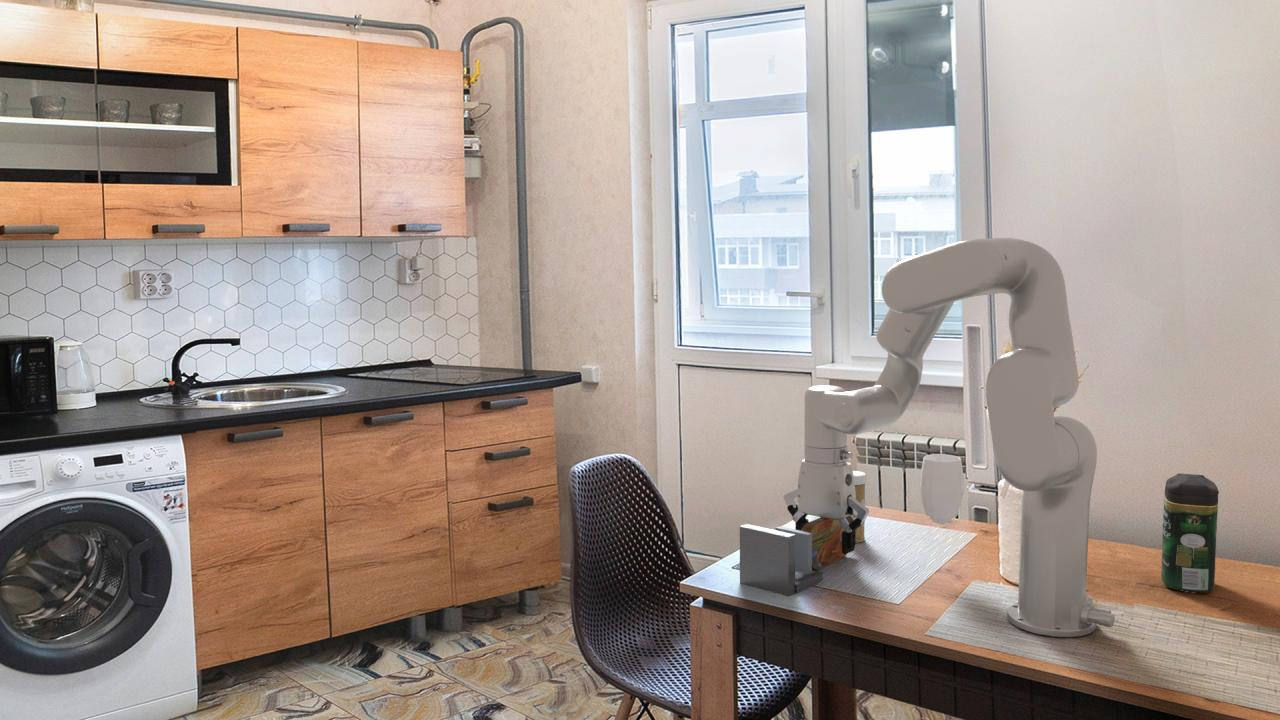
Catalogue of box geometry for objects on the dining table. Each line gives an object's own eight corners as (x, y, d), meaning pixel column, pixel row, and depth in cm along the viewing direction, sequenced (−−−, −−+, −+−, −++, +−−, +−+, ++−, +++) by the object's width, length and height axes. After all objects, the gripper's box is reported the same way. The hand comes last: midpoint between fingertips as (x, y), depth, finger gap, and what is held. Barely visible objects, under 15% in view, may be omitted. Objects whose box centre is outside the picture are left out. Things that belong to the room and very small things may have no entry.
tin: (809, 574, 179) (809, 528, 178) (794, 570, 181) (794, 524, 180) (853, 554, 190) (854, 510, 189) (839, 550, 192) (839, 507, 191)
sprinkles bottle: (838, 541, 197) (839, 474, 196) (845, 535, 201) (845, 469, 200) (861, 544, 195) (862, 476, 194) (868, 538, 199) (868, 471, 198)
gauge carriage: (811, 572, 176) (812, 533, 175) (808, 574, 175) (808, 534, 174) (769, 562, 182) (769, 523, 181) (765, 563, 181) (765, 525, 180)
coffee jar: (1158, 573, 176) (1163, 468, 174) (1211, 579, 173) (1216, 472, 171) (1161, 591, 168) (1166, 481, 165) (1216, 597, 164) (1222, 485, 162)
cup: (961, 582, 173) (963, 463, 171) (917, 578, 176) (919, 461, 173) (962, 569, 180) (964, 454, 178) (919, 566, 182) (921, 452, 180)
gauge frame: (822, 580, 175) (823, 524, 174) (789, 596, 168) (790, 537, 167) (772, 568, 182) (772, 513, 181) (738, 582, 175) (738, 525, 174)
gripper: (879, 457, 180) (877, 551, 182) (796, 445, 192) (796, 533, 194) (856, 464, 174) (855, 561, 177) (773, 451, 186) (773, 542, 188)
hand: (824, 546), depth 185 cm, fingers open, 9 cm apart
